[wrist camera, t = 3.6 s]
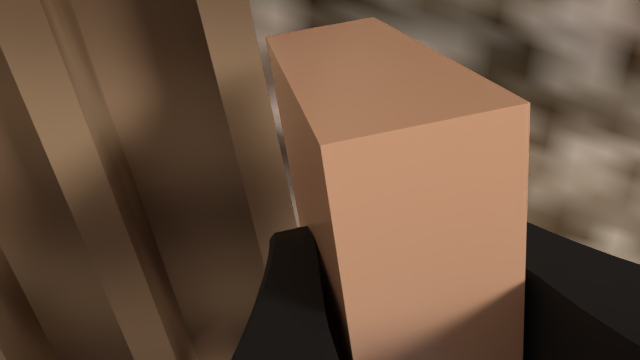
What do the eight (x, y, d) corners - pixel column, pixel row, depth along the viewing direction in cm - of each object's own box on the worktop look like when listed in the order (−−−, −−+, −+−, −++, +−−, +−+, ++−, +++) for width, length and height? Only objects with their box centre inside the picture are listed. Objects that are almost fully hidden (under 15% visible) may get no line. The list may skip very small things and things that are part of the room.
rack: (329, 392, 24) (346, 459, 21) (-27, 487, 22) (-64, 573, 19) (195, -225, 14) (191, -264, 11) (-456, -121, 12) (-661, -135, 10)
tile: (403, 325, 14) (516, 560, 9) (322, 344, 14) (389, 597, 9) (373, 17, 11) (530, 102, 6) (265, 36, 11) (321, 145, 5)
